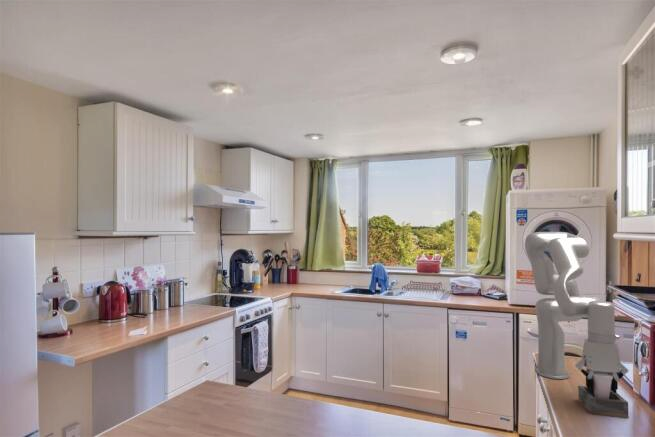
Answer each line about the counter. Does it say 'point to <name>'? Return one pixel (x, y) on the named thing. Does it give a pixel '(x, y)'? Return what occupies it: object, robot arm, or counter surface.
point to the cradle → (603, 403)
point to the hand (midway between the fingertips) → (601, 389)
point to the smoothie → (602, 384)
